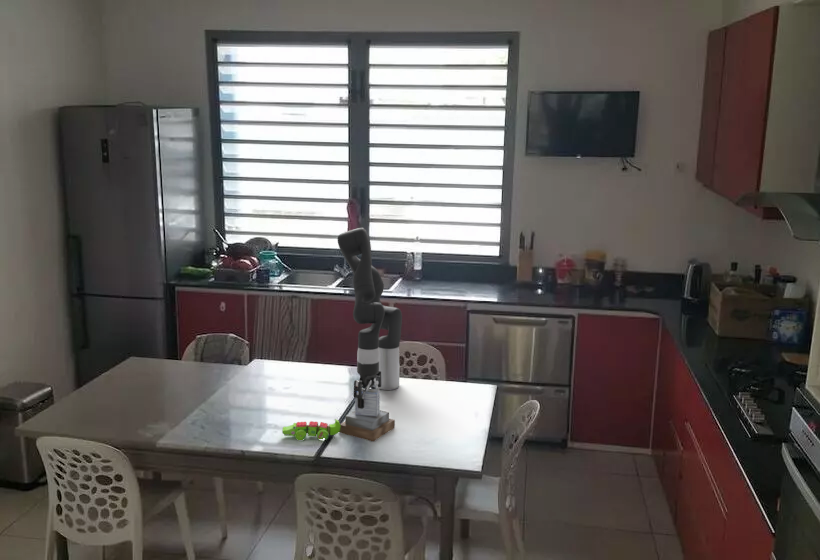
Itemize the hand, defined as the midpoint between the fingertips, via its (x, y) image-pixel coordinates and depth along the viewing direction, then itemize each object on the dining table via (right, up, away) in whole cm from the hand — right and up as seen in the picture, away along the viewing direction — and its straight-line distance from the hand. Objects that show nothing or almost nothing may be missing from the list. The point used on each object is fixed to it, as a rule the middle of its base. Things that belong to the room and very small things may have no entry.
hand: (367, 404), depth 267 cm
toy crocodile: (-19, -11, -5) cm, 22 cm away
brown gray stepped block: (0, -9, +2) cm, 10 cm away
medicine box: (0, -4, +1) cm, 4 cm away
